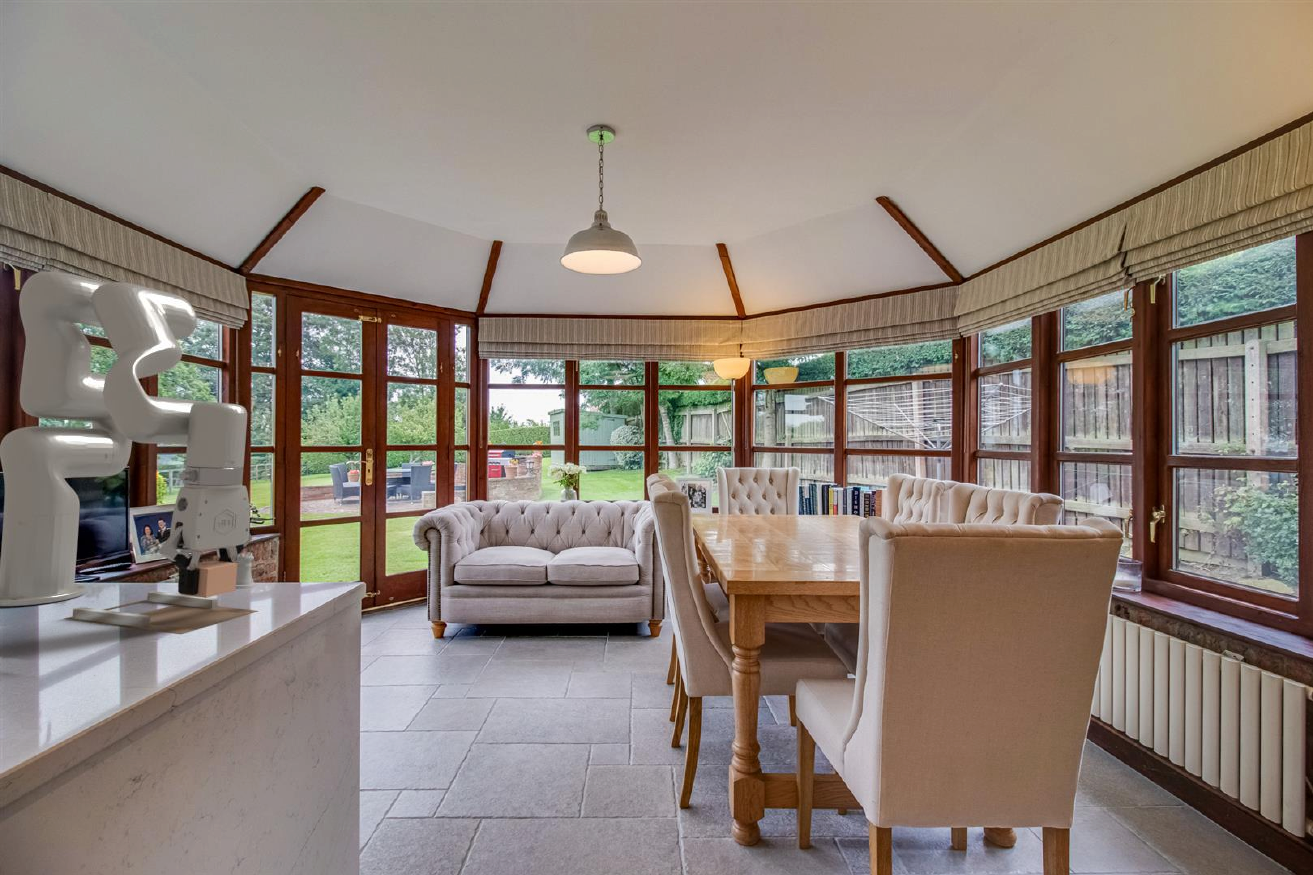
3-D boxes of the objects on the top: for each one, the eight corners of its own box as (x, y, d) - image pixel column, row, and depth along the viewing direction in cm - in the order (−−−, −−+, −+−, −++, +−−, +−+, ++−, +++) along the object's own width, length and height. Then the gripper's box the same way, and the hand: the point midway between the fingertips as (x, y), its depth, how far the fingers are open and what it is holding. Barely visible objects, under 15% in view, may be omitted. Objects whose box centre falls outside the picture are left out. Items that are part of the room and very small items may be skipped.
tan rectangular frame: (63, 627, 90) (64, 608, 90) (151, 606, 102) (152, 590, 103) (180, 644, 85) (182, 623, 85) (258, 619, 98) (259, 602, 98)
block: (180, 594, 90) (182, 565, 90) (210, 587, 95) (212, 560, 95) (205, 597, 89) (208, 569, 89) (235, 590, 94) (237, 563, 94)
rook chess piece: (261, 591, 116) (263, 552, 116) (243, 597, 111) (245, 556, 111) (241, 590, 116) (243, 550, 116) (222, 595, 112) (224, 554, 112)
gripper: (179, 482, 84) (169, 606, 83) (278, 477, 100) (270, 580, 100) (139, 478, 85) (129, 600, 85) (242, 474, 102) (234, 576, 102)
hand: (205, 588), depth 92 cm, fingers closed on block, 4 cm apart
